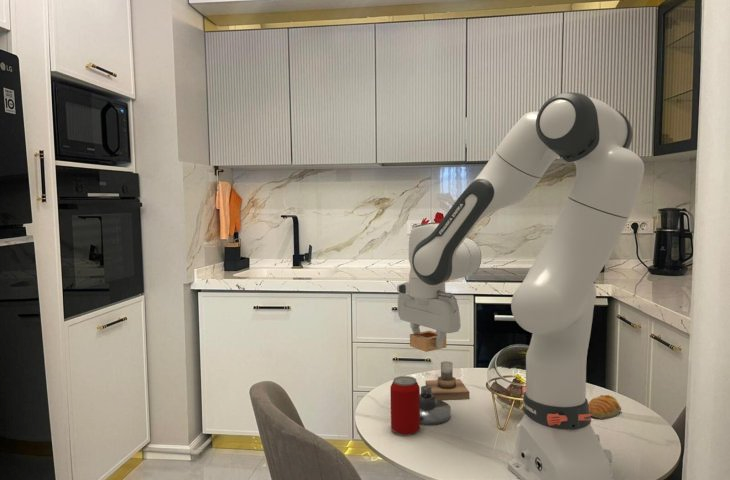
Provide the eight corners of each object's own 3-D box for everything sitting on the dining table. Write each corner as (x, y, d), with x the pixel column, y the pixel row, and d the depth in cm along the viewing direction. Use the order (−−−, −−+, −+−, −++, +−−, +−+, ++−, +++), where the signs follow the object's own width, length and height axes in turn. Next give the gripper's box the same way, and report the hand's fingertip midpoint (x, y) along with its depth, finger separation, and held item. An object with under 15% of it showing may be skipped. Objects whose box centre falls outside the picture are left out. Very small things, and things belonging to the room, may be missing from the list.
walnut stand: (469, 399, 135) (469, 368, 134) (432, 400, 134) (432, 369, 134) (459, 385, 145) (459, 357, 144) (425, 387, 144) (425, 358, 144)
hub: (460, 417, 123) (460, 389, 123) (423, 429, 117) (423, 400, 116) (428, 402, 133) (428, 376, 133) (392, 412, 127) (392, 385, 126)
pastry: (606, 423, 119) (606, 407, 119) (578, 415, 124) (578, 400, 124) (623, 412, 125) (623, 397, 125) (596, 405, 130) (596, 390, 130)
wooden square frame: (446, 347, 124) (446, 335, 123) (426, 351, 120) (426, 339, 120) (429, 342, 129) (429, 330, 129) (409, 346, 125) (409, 334, 125)
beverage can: (419, 424, 120) (419, 375, 119) (420, 437, 113) (419, 385, 112) (391, 423, 120) (390, 374, 120) (390, 436, 114) (389, 384, 113)
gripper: (466, 292, 117) (467, 350, 117) (412, 282, 134) (413, 334, 135) (445, 295, 113) (446, 355, 114) (393, 285, 130) (394, 337, 131)
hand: (428, 343), depth 124 cm, fingers closed on wooden square frame, 6 cm apart
